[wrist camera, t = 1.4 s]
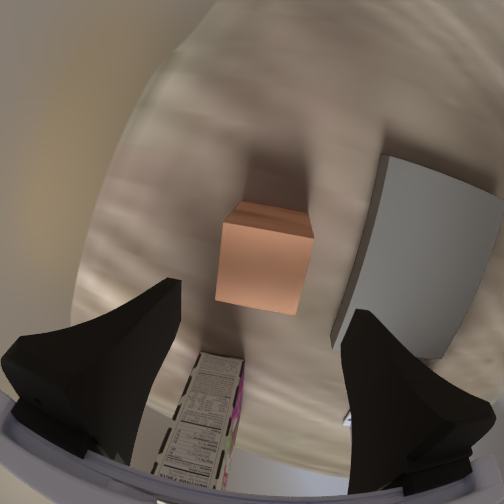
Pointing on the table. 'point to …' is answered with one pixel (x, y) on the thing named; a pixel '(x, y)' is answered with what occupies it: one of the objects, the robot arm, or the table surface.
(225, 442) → the candy bar box
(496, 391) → the table surface
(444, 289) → the board
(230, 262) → the block
